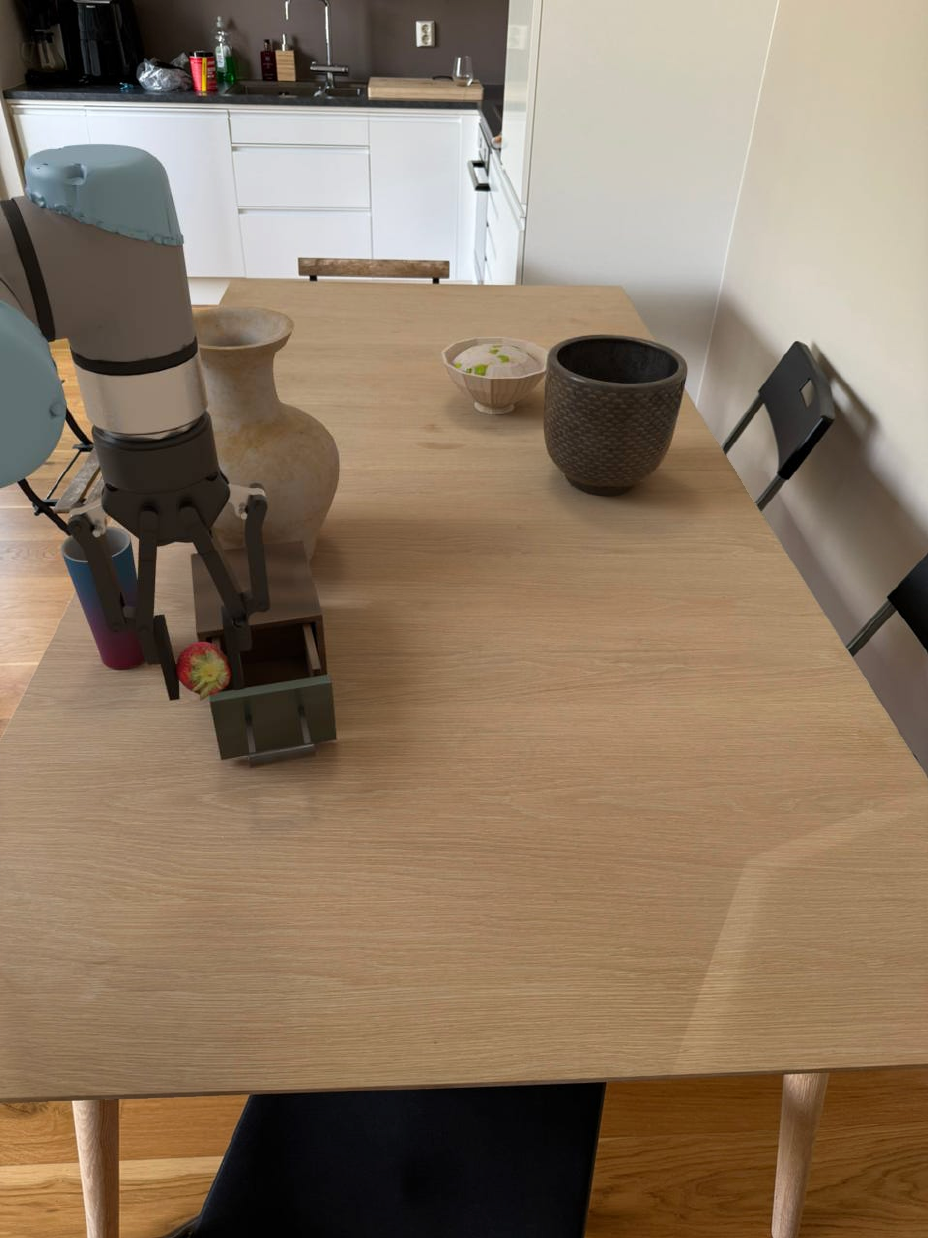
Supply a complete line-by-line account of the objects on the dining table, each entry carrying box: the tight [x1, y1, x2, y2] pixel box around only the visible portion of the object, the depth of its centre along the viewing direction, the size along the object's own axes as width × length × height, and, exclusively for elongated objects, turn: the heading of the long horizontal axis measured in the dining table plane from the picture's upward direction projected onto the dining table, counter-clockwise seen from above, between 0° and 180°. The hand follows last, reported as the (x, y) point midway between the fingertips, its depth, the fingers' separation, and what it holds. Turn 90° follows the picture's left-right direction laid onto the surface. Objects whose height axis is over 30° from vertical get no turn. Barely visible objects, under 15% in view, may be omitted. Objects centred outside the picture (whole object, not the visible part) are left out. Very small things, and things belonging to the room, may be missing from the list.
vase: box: [192, 306, 341, 563], centre depth 109 cm, size 22×22×30 cm
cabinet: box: [190, 540, 329, 676], centre depth 99 cm, size 15×13×10 cm
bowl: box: [440, 336, 550, 415], centre depth 153 cm, size 19×19×10 cm
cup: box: [60, 525, 145, 671], centre depth 96 cm, size 7×7×15 cm
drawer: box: [208, 622, 338, 770], centre depth 89 cm, size 20×11×8 cm, turn 16°
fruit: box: [175, 642, 231, 702], centre depth 71 cm, size 4×6×5 cm
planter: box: [543, 333, 689, 497], centre depth 130 cm, size 20×20×19 cm
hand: (206, 683), depth 72 cm, fingers closed on fruit, 4 cm apart
